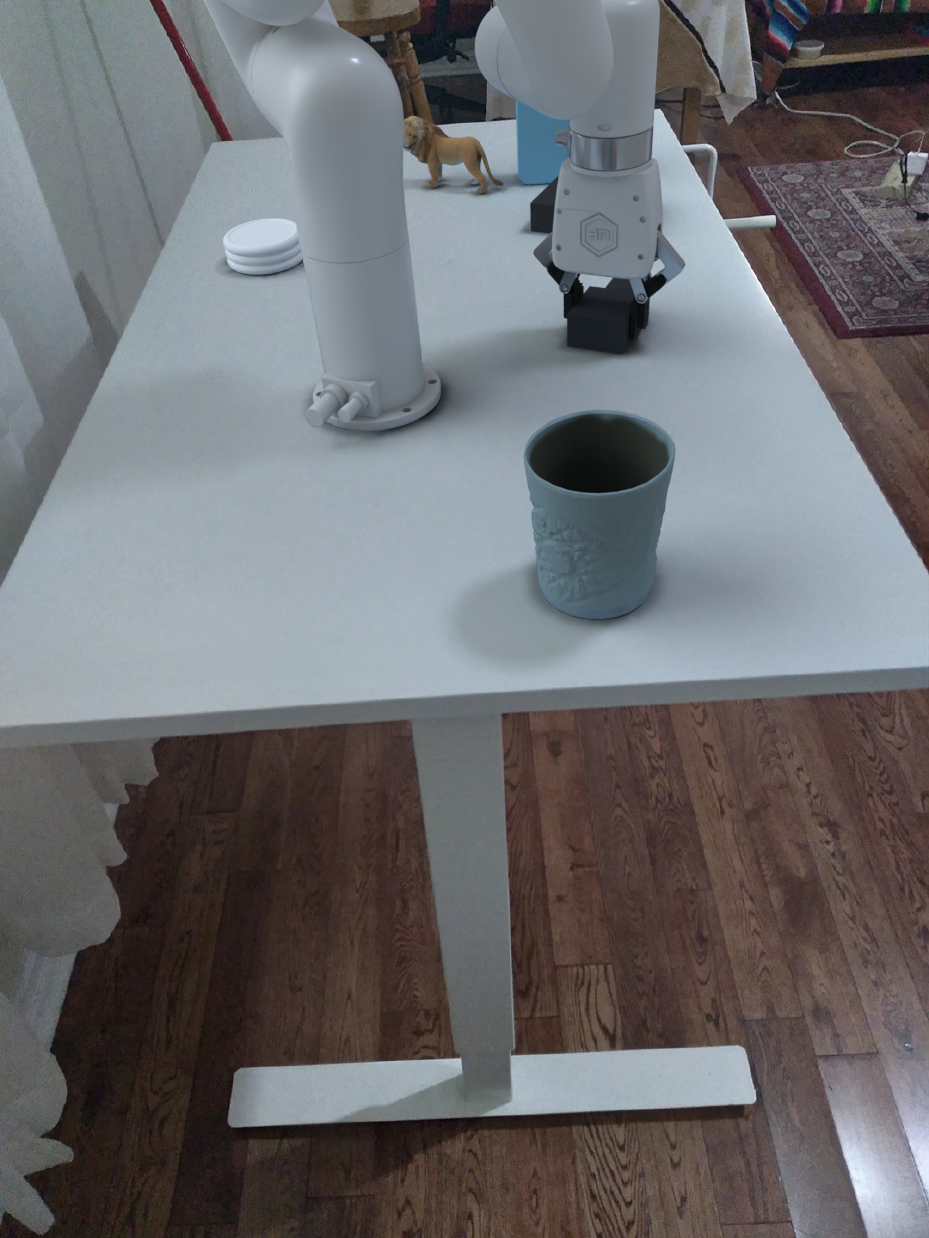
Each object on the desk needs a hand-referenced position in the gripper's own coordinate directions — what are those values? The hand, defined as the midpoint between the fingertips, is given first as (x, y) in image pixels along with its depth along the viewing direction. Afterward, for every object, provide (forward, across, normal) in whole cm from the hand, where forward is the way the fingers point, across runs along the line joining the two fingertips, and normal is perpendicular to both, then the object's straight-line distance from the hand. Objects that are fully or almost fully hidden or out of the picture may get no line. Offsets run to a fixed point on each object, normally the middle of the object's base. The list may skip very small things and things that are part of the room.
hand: (605, 328), depth 101 cm
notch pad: (+1, -12, +29) cm, 31 cm away
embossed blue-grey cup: (+1, +12, -38) cm, 40 cm away
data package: (+1, -21, +43) cm, 48 cm away
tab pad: (+1, 0, +1) cm, 2 cm away
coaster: (+1, -47, +7) cm, 48 cm away
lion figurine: (+1, -35, +36) cm, 50 cm away
